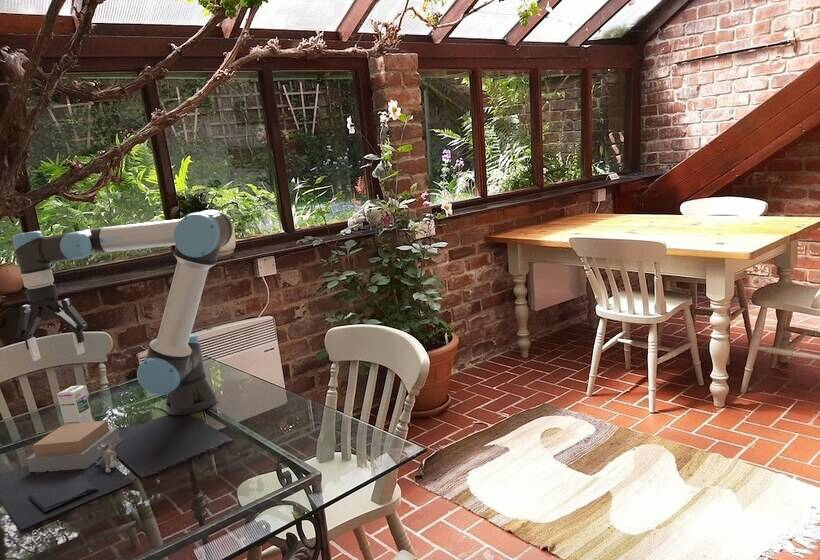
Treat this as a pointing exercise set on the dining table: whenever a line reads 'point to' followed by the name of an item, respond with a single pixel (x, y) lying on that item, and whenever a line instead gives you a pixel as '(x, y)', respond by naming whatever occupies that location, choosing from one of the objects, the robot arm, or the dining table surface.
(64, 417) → the syrup box
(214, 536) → the dining table surface
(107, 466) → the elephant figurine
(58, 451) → the display podium
